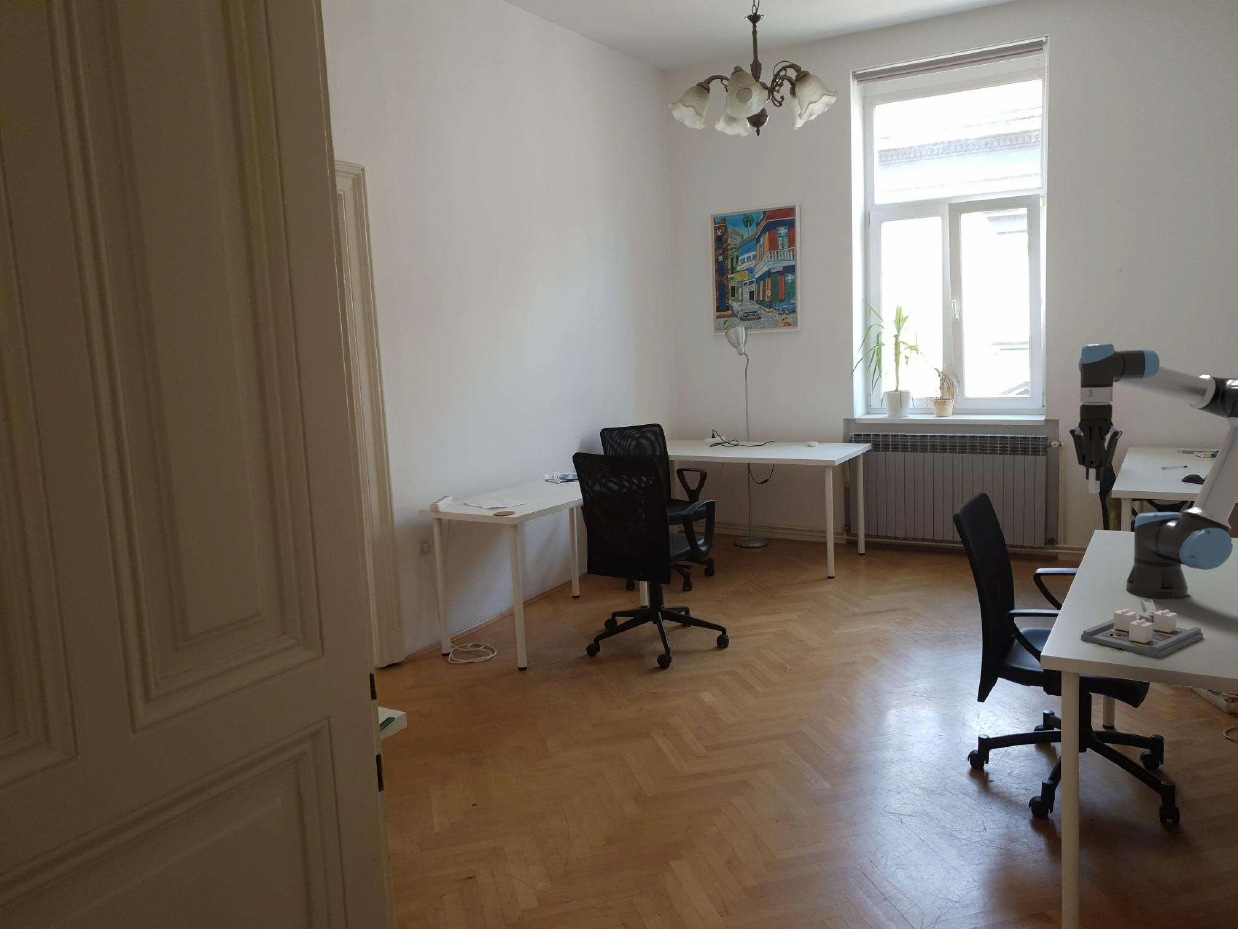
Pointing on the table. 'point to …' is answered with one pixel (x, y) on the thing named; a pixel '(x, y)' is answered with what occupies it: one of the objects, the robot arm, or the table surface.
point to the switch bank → (1156, 647)
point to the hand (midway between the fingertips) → (1094, 492)
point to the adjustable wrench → (1147, 610)
